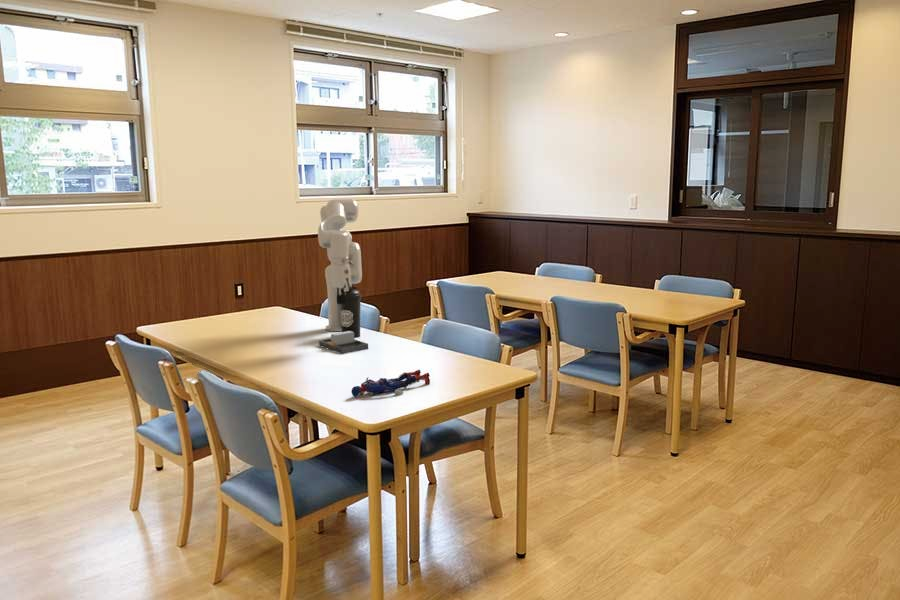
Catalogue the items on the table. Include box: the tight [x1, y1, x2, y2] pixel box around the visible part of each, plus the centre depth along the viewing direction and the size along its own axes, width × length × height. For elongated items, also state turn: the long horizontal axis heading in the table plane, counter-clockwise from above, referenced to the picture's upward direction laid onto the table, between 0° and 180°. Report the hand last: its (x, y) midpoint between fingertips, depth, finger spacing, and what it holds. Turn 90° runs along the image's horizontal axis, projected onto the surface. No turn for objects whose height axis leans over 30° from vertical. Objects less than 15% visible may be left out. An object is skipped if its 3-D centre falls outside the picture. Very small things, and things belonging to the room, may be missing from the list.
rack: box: [318, 338, 369, 355], centre depth 300 cm, size 13×19×3 cm
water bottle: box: [340, 285, 362, 339], centre depth 319 cm, size 10×10×23 cm
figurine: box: [351, 369, 431, 398], centre depth 240 cm, size 15×6×30 cm
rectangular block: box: [330, 331, 355, 345], centre depth 299 cm, size 10×4×6 cm, turn 132°
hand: (341, 303), depth 298 cm, fingers closed
